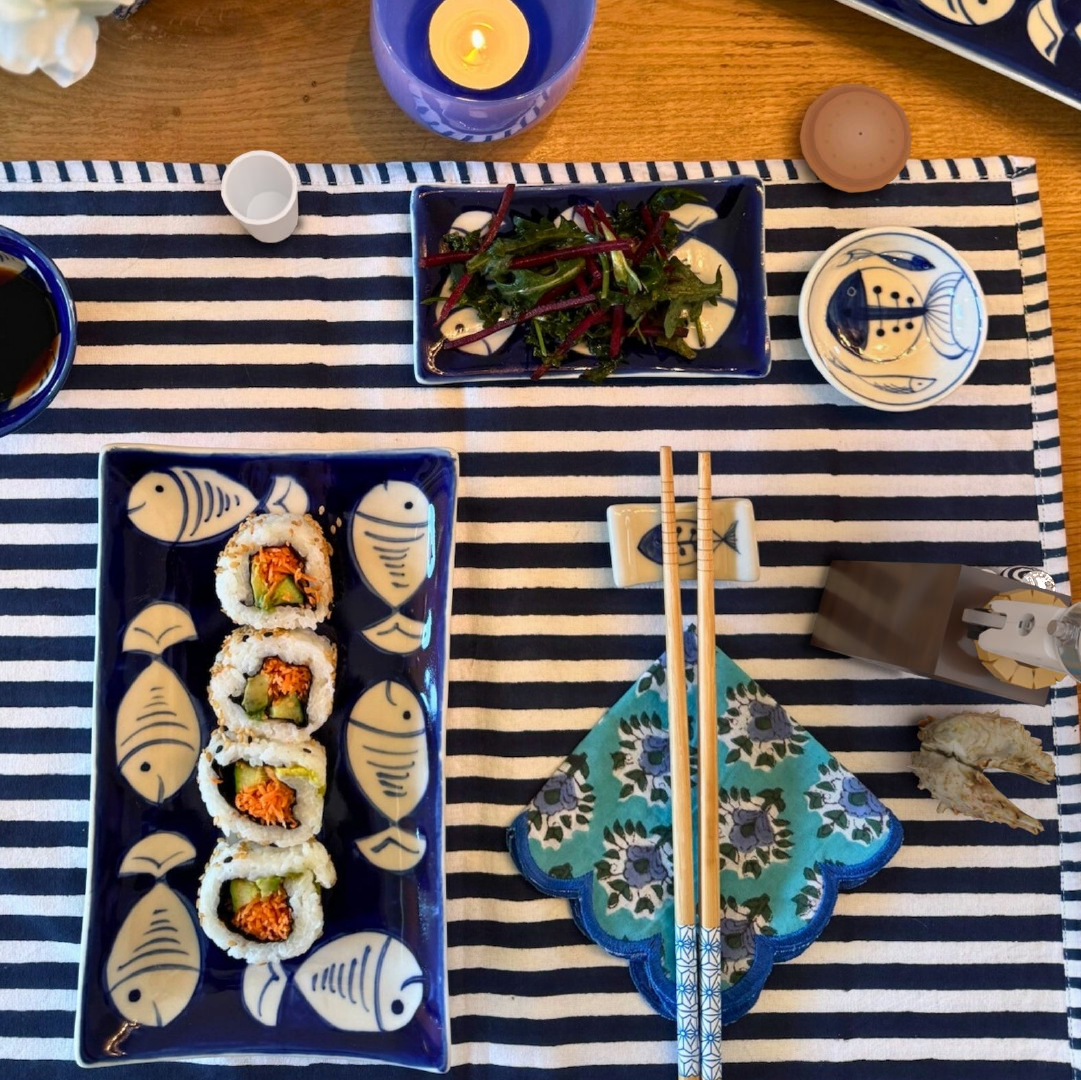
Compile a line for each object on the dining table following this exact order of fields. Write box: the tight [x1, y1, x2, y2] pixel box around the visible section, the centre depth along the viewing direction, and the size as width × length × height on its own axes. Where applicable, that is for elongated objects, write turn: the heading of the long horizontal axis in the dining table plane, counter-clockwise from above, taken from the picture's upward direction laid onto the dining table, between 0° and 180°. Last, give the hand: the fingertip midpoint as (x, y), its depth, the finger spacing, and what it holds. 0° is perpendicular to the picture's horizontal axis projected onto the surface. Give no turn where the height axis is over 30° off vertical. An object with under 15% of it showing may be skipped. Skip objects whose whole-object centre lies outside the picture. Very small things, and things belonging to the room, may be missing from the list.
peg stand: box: [809, 559, 1073, 708], centre depth 124 cm, size 12×12×39 cm
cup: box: [220, 149, 299, 244], centre depth 141 cm, size 10×10×13 cm
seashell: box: [906, 708, 1057, 835], centre depth 134 cm, size 18×18×15 cm
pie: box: [798, 83, 913, 194], centre depth 146 cm, size 15×16×5 cm
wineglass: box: [980, 564, 1057, 592], centre depth 138 cm, size 6×6×12 cm
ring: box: [974, 589, 1068, 689], centre depth 105 cm, size 10×10×2 cm
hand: (988, 627), depth 106 cm, fingers closed on ring, 2 cm apart
